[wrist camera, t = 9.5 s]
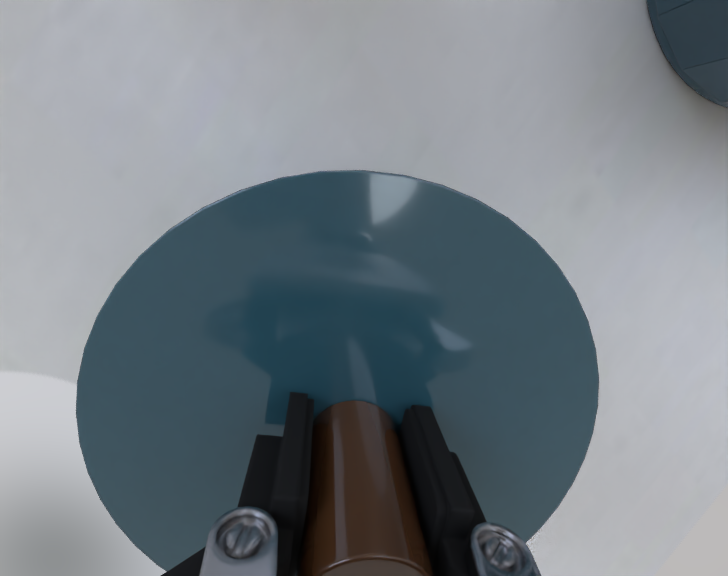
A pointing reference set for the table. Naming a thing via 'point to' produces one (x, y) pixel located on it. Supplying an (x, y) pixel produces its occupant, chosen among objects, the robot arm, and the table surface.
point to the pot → (695, 42)
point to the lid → (336, 366)
